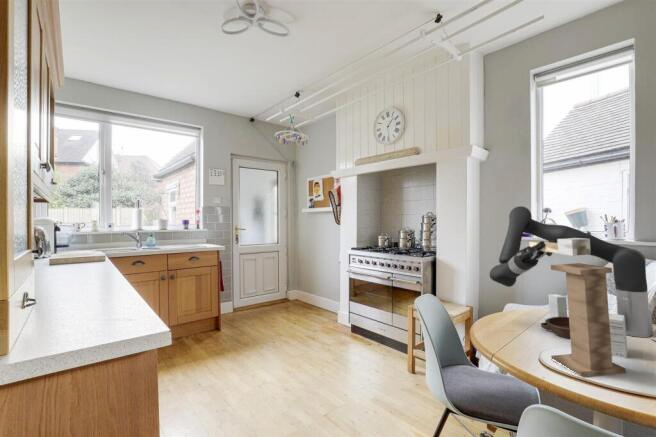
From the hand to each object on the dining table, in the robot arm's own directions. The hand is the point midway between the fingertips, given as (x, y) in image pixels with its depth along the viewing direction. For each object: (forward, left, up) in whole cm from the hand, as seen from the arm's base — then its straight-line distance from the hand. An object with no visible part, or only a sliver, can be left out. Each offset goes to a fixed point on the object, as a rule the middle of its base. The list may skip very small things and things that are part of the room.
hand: (548, 243), depth 116 cm
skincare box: (-24, -28, -39) cm, 54 cm away
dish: (-18, -13, -39) cm, 45 cm away
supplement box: (-17, +5, -39) cm, 43 cm away
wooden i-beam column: (0, +13, -39) cm, 41 cm away
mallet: (0, +3, -3) cm, 4 cm away
